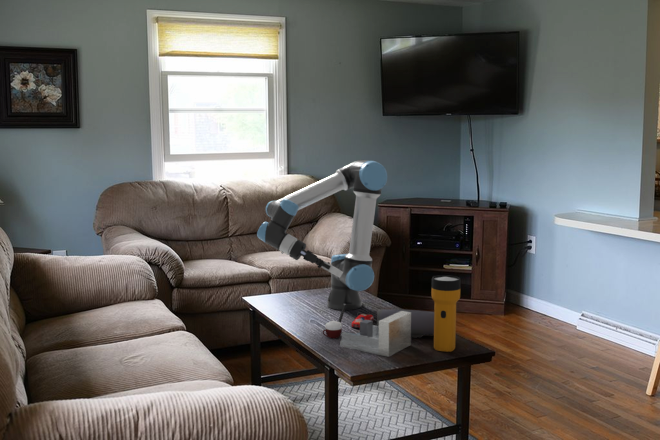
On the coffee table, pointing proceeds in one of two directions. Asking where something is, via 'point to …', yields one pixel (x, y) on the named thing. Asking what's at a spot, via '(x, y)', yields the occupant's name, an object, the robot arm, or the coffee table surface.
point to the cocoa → (334, 327)
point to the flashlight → (445, 310)
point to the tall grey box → (366, 328)
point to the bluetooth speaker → (413, 321)
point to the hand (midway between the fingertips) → (339, 273)
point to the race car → (361, 318)
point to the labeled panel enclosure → (383, 336)
